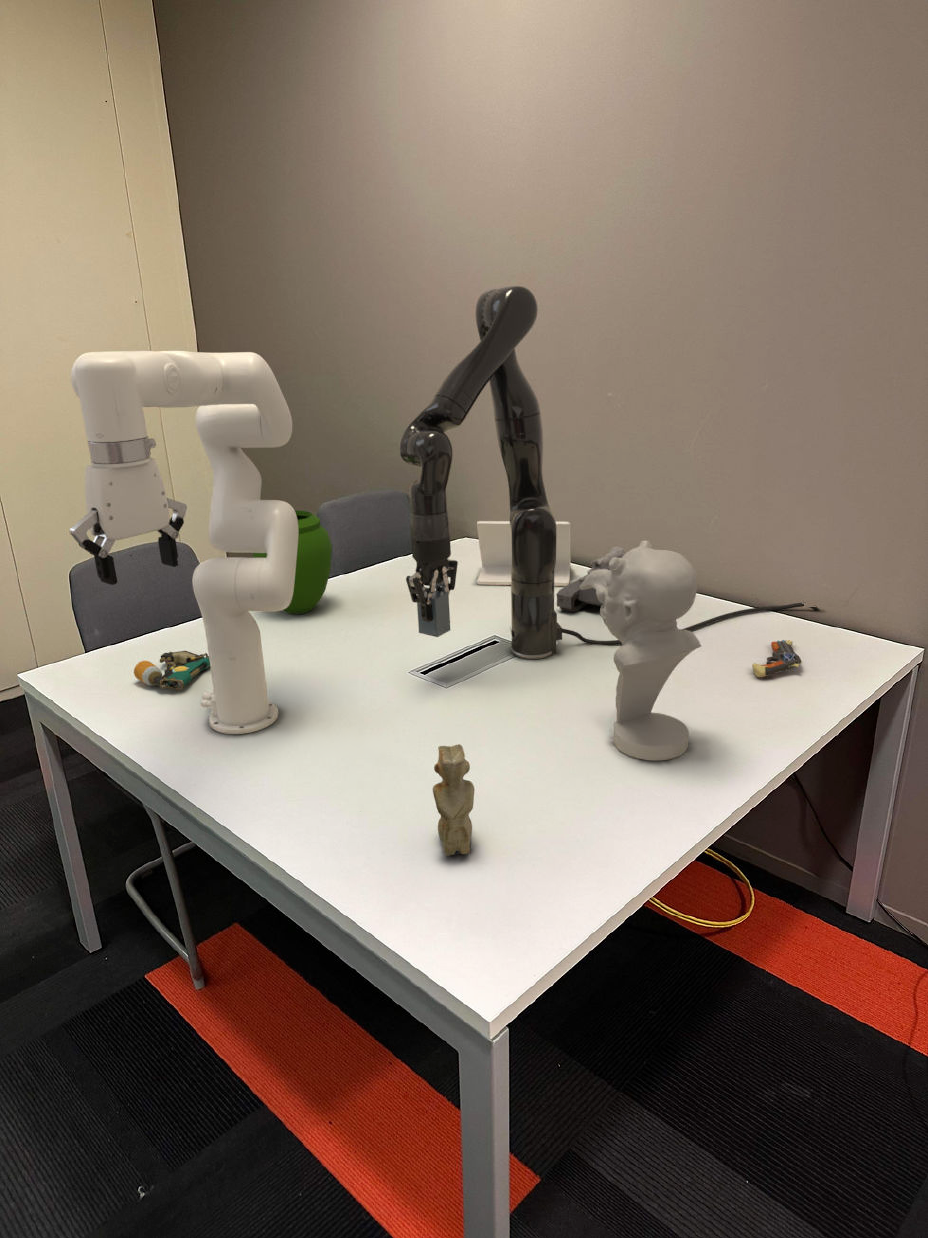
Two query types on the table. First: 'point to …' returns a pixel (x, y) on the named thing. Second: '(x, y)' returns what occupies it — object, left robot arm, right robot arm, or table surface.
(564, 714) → the table surface
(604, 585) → the bust sculpture
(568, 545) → the tablet stand
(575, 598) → the toy
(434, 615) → the brick
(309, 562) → the vase
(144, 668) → the spray gun
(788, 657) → the toy gun
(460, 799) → the sculpture
